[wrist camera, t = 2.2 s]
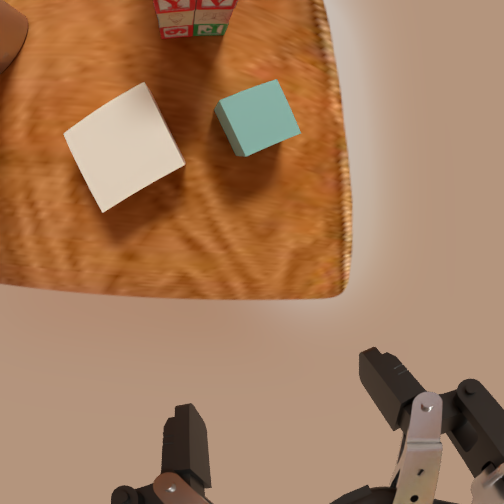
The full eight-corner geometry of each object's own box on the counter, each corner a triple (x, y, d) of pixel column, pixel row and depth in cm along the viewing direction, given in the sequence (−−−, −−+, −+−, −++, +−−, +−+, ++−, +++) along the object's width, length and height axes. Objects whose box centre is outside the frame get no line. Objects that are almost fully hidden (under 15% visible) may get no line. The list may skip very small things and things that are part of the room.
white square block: (80, 135, 21) (63, 133, 17) (150, 91, 21) (144, 81, 17) (114, 203, 24) (102, 213, 20) (186, 163, 24) (184, 164, 21)
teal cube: (213, 110, 23) (219, 100, 19) (261, 91, 23) (276, 79, 19) (235, 155, 25) (245, 156, 21) (281, 135, 25) (301, 133, 21)
